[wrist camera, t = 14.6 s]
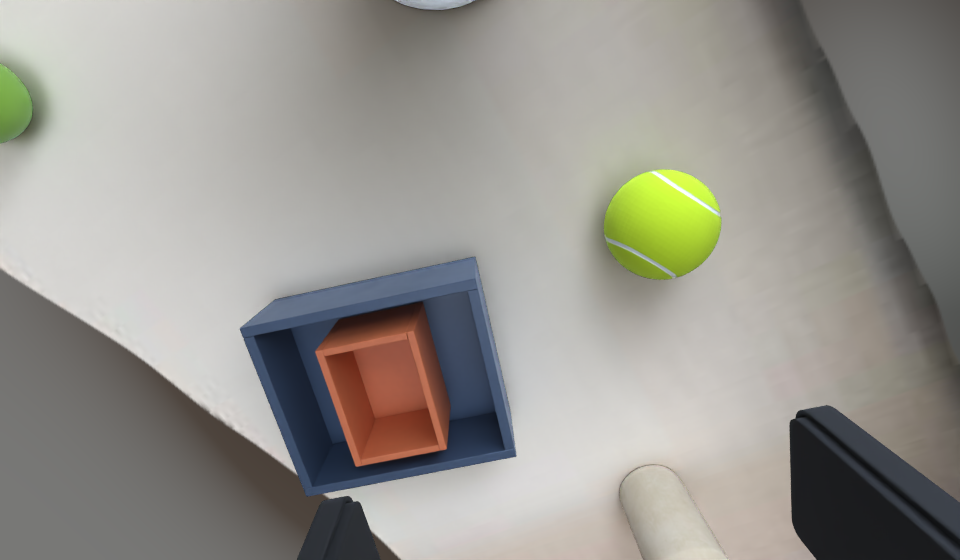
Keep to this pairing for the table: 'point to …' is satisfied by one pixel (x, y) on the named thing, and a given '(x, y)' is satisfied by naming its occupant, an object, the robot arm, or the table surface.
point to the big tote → (307, 401)
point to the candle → (666, 517)
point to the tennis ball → (662, 224)
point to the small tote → (386, 384)
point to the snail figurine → (13, 105)
